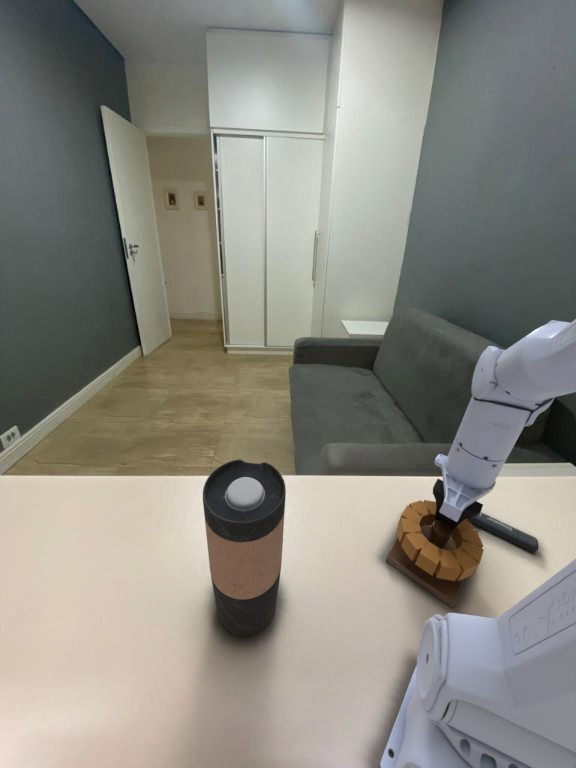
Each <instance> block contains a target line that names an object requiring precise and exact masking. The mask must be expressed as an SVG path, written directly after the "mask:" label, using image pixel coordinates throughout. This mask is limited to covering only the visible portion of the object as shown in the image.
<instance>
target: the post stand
mask: <svg viewBox="0 0 576 768" xmlns="http://www.w3.org/2000/svg"><path fill="white" fill-rule="evenodd" d="M420 528H421V532H422V534H423V535H424V536H425V537H426V539H427V540H428V541H429V542H430V543H432V544H434V545H435V546H437V547H438V548H440V549H445V550H450V551H453V550H455V549H456V546H455V543H454V541H453V539H452V538H451V535H452V529H451V527H450V526H449V525H448V524H447V523H445V522H444V521H441V520H436V521H434V522H433V524H432V526H430V525H424V526H421V527H420ZM401 545H402V543H400V542H399V537H398V536H397V537H396V539H395V541H394V542H393V544H392V545H391V548H390V550H389V551H388V553H387V554H386V557H385V562H387V563H388V564H390V565H391V566H393V567H394V568H395V569H397V570H398V571H400V572H401V573H402V574H404V575H405V576H407V578H410V579H411V580H412V581H414V582H415V583H417V584H418V585H419V586H420V587H422V588H424V590H426V591H428V592H429V593H431V594H432V595H433V596H435V597H436V598H438V599H439V600H441V601H442V602H443V603H445V604H446V605H448V606H449V607H450V608H451V609H454V607H455V606H456V603H457V601H458V597H459V595H460V592H461V589H462V587H463V583H464V579H465V578H464V579H462V580H460V581H458V580H457V578H456V580H455V581H451V580H446V579H441V578H437V577H436V574H435V572H434V574H433V575H430V574H429V573H427V572H426V571H424V570H423V569H421V568H420V567H418V566H417V565H415V563H416V560H417V559H415V560H413V561H411V559H410V558H409V556H408V555H407V554H406V552H405V551H404V549H403V548H402V547H401Z"/></svg>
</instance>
